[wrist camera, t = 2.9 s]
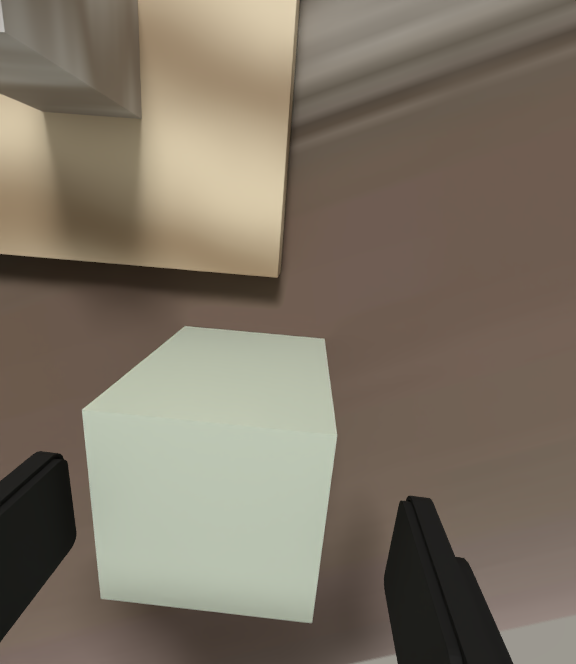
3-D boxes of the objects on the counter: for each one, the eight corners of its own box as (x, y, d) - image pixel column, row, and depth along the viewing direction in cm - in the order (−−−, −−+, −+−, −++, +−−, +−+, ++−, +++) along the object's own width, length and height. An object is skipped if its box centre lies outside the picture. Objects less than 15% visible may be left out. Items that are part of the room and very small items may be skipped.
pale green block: (311, 459, 18) (311, 623, 11) (185, 446, 18) (100, 598, 11) (324, 338, 16) (336, 435, 9) (185, 326, 16) (81, 409, 9)
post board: (280, 272, 16) (255, 313, 8) (-33, 246, 16) (-312, 263, 9) (311, -167, 11) (314, -817, 4) (-109, -185, 12) (-740, -804, 5)
